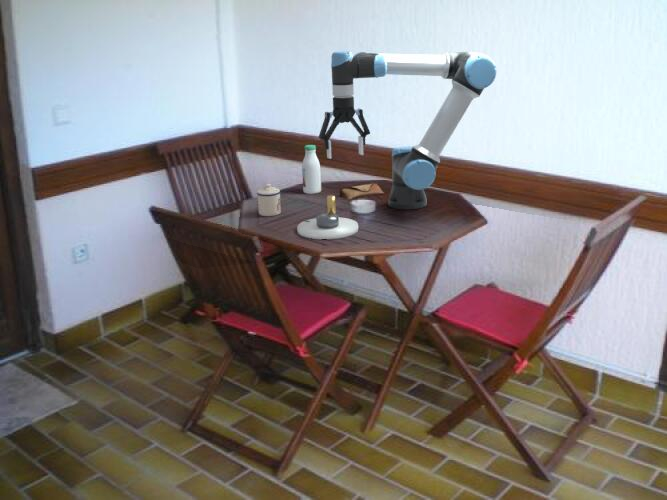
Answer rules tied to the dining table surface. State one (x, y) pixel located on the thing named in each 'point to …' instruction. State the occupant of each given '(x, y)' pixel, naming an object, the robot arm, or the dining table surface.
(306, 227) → the dial plate
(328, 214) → the lever
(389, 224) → the dining table surface
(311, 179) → the milk bottle
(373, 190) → the sunglasses case
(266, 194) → the teacup with lid
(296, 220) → the dining table surface
